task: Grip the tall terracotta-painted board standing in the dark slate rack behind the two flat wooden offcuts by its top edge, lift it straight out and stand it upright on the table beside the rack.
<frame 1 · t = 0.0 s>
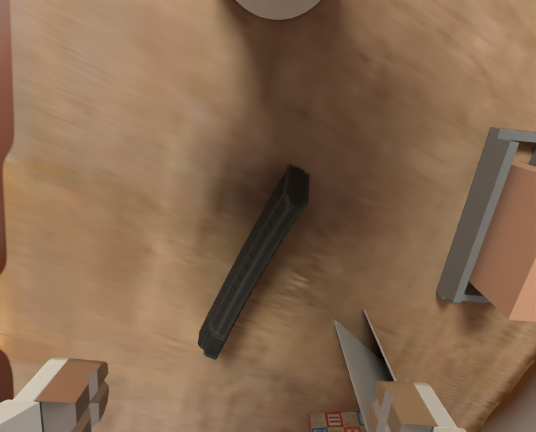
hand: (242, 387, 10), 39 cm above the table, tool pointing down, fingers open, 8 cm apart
brochure: (362, 343, 59), on the table
sheet: (487, 219, 50), on the table
stack of blocks: (362, 420, 66), on the table
rack: (519, 223, 51), on the table
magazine: (250, 252, 52), on the table
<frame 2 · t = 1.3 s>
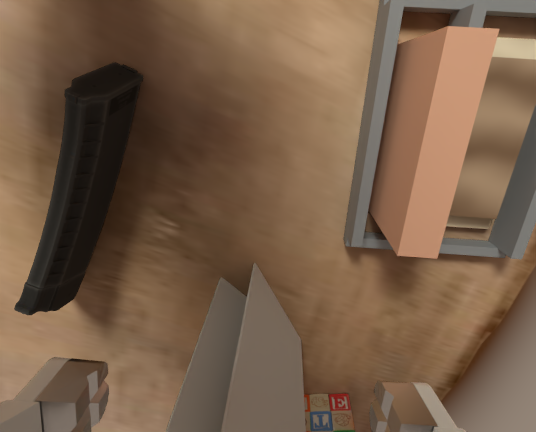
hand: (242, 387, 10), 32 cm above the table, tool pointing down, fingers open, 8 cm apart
brochure: (261, 308, 47), on the table
upper offcut: (480, 141, 36), point 1 cm above the table, touching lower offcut
sheet: (396, 135, 38), on the table
stack of blocks: (282, 407, 54), on the table
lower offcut: (473, 139, 38), on the table, touching upper offcut
rack: (442, 138, 37), on the table
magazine: (102, 189, 42), on the table
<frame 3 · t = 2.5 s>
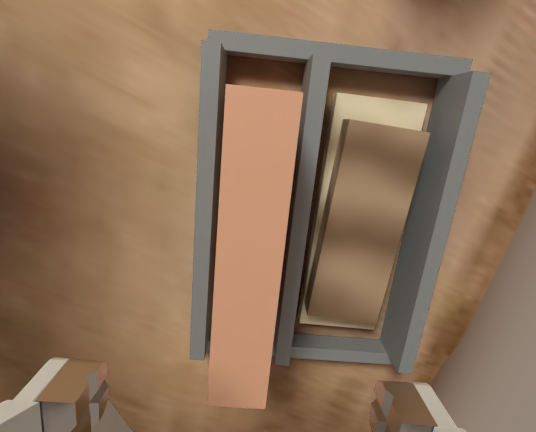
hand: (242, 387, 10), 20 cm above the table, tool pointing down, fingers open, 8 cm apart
brochure: (100, 425, 35), on the table
upper offcut: (357, 223, 28), point 1 cm above the table, touching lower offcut
sheet: (252, 209, 29), on the table
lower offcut: (351, 216, 30), on the table, touching upper offcut
rack: (310, 215, 29), on the table
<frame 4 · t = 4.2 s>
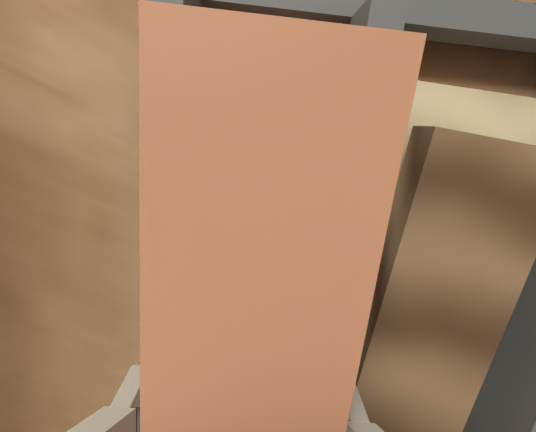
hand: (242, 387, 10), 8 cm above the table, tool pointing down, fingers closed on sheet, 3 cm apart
upper offcut: (423, 295, 17), point 1 cm above the table, touching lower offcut
sheet: (250, 271, 18), on the table, touching gripper
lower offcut: (405, 278, 19), on the table, touching upper offcut
rack: (342, 279, 18), on the table
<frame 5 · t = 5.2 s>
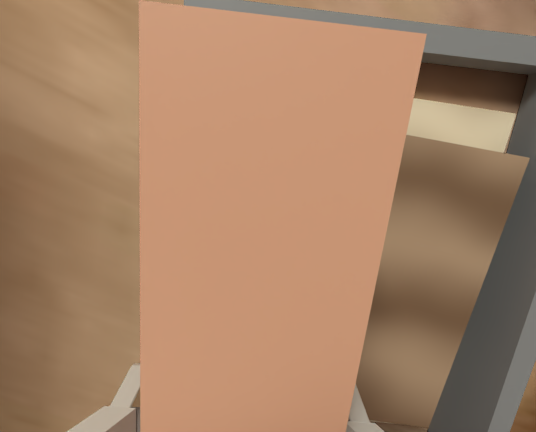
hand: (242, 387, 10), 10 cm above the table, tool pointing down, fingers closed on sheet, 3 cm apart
upper offcut: (403, 282, 19), point 1 cm above the table, touching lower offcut
sheet: (250, 271, 18), point 2 cm above the table, touching gripper
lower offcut: (389, 268, 21), on the table, touching upper offcut
rack: (334, 269, 20), on the table
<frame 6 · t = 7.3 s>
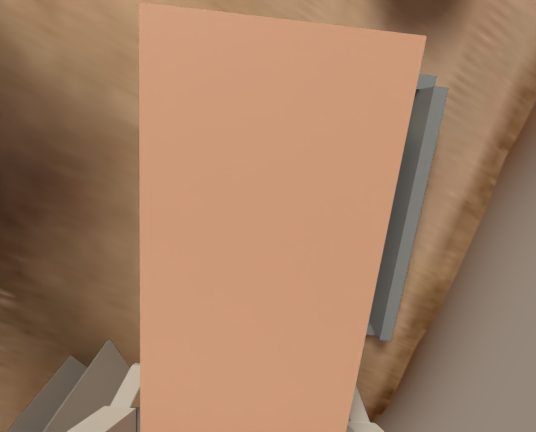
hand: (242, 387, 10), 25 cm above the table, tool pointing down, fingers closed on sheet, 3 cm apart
brochure: (122, 391, 40), on the table
sheet: (250, 272, 18), point 17 cm above the table, touching gripper
rack: (304, 206, 34), on the table
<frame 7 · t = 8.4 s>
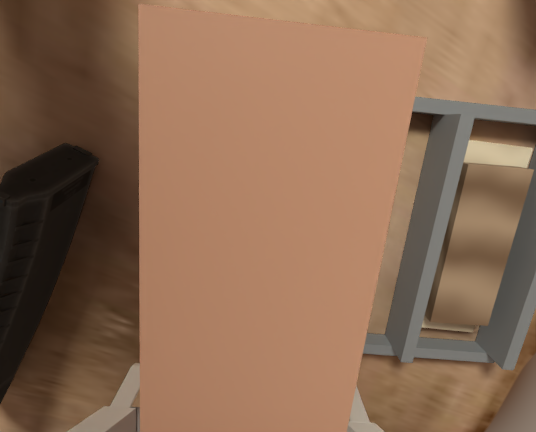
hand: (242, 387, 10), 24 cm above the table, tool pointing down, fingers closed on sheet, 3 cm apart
upper offcut: (466, 243, 34), point 1 cm above the table, touching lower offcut
sheet: (250, 272, 18), point 16 cm above the table, touching gripper
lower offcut: (456, 237, 36), on the table, touching upper offcut
rack: (426, 236, 35), on the table
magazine: (42, 278, 36), on the table
when the fingers open (9 cm above the table, at t = 10.5 s): sheet drops 1 cm, on the table.
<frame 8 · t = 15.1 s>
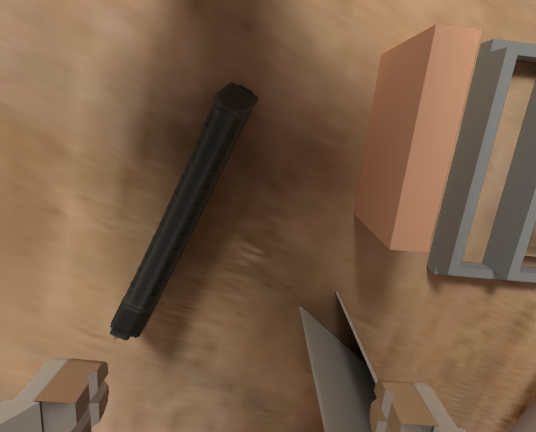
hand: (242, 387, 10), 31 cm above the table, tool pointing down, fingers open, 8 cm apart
brochure: (337, 339, 46), on the table
sheet: (381, 140, 39), on the table
rack: (525, 172, 40), on the table
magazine: (189, 208, 41), on the table
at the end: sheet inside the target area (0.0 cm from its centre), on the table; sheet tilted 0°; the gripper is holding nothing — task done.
